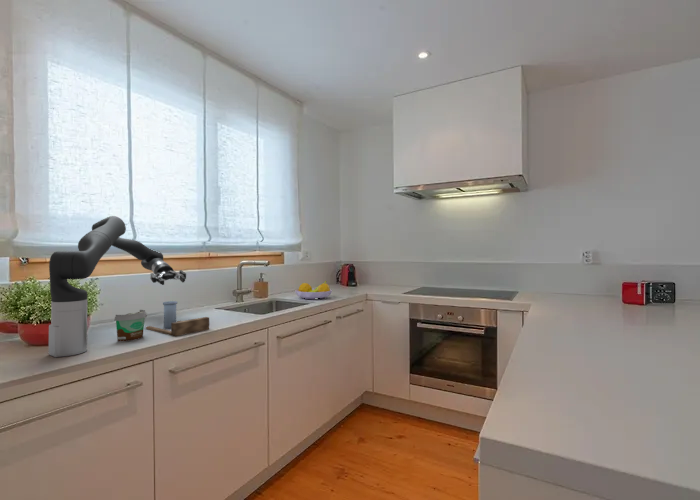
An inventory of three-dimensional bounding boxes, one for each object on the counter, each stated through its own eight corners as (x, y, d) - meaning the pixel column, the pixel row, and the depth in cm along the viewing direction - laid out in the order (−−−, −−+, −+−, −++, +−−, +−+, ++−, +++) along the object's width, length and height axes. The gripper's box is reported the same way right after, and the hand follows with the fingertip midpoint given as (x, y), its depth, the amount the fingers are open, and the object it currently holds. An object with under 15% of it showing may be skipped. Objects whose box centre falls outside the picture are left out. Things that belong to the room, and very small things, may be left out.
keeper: (167, 329, 148) (167, 303, 148) (160, 327, 151) (160, 302, 151) (179, 327, 153) (179, 301, 153) (172, 325, 156) (172, 300, 156)
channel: (174, 336, 136) (174, 323, 136) (146, 329, 148) (146, 317, 148) (209, 329, 149) (209, 317, 149) (180, 322, 161) (180, 312, 161)
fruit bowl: (309, 302, 228) (310, 284, 228) (287, 297, 248) (287, 281, 248) (342, 298, 247) (342, 282, 247) (318, 294, 267) (319, 279, 267)
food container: (128, 343, 126) (128, 315, 126) (114, 342, 127) (114, 315, 127) (154, 335, 138) (154, 310, 138) (140, 334, 139) (140, 309, 139)
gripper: (145, 264, 162) (156, 275, 151) (178, 261, 172) (190, 272, 161) (145, 279, 164) (156, 291, 153) (177, 275, 174) (189, 287, 163)
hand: (173, 281), depth 157 cm, fingers open, 8 cm apart
